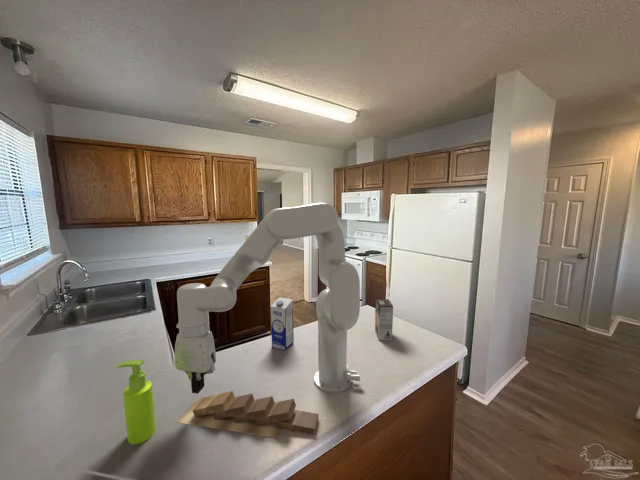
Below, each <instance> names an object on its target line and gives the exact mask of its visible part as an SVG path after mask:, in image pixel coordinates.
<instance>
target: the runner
mask: <svg viewBox="0 0 640 480" xmlns="http://www.w3.org/2000/svg"><path fill="white" fill-rule="evenodd" d="M205 397H206V396H205ZM205 397H204V396H198V397H197V399H195V401H194V402H193V403H192V404H191V405H190V406H189V407H188V408H187V410H185V412H184V413H183V414H182V415H181V416H180V417H179V418H178V420H177V421H176V423H178V424H184V425H190V426H198V427H205V428H209V429H210V428H211V429H219V430H223V431H229V432H238V433H243V434H250V435H251V434H252V435H256V436H264V437H270V438H277V439H279V438H280V435H281V432H282V430H281V429H277V426H278V422H275V423H270V424H265V425H260V426H257V425H256V422H255V420H254V419H252V420H247V421H242V422H237V423H235V421H234V419H233V416H231V417H226V418H221V419H217V420H215V419H214V417H213V414H212V413H211V414H206V415H202V416H197V417H195V416H194V413H193V411H192V410H193V409H194V408H195V407H196V406H197V405H198V404H199V402H200V401H201V400H202V399H203V398H205Z"/></svg>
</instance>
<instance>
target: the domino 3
mask: <svg viewBox="0 0 640 480" xmlns="http://www.w3.org/2000/svg"><path fill="white" fill-rule="evenodd" d="M274 403H276V402H275V400H274V397H273V395H272V396H266V397H261V398H257V399H254V401H253V403H252V405H251V406H250V408H249V410H248V412H247V413H245V414H240V415H235V416H233V419H234V421H235V423H237V422H242V421H247V420H252V419H257V418H262V417H267V416H268V415H269V413H270V411H271V409H272V407H273V405H274Z"/></svg>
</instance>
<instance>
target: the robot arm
mask: <svg viewBox="0 0 640 480" xmlns="http://www.w3.org/2000/svg"><path fill="white" fill-rule="evenodd" d="M338 214H339V213H338V210H337V209H336V207H334V206H333V205H332V204H330V203H327V202H315V203H310V204H306V205H300V206H292V207H280V208H274V209H271V210H270V211H268V212H267V214H266V215H265V216H264V217H263V219H262V220H261V221H260V222H259V223H258V224H257V226H256V228H255V229H254V230H253V231H252V232H251V233H250V234H249V235H248V237H247V239H245V241H244V242H243V244H242V245H241V246H240V247H239V248H238V249H237V250H236V252H235V253H234V254H233V256H232V257H231V258H230V259H229V260H228V262H227V263H226V264H225V265H224V267H222V269H221V270H220V271H219V273H218V274H217V275H216V276H215V278H214V279H213V281H212V282H211V284H210V286H207V285H206V284H205V283H202V282H201V283H199V282H194V283H193V282H192V283H187V284H183V285H181V286H179V287H178V289H177V291H176V302H177V315H178V316H177V317H178V322H177V324H176V328H177V329H178V332H179V333H177V335H176V338H175V339H176V340H175V344H174V367H175V369H176V370H178V371H183V372H185V374H186V375H187V376H188V379H189V380H190V384H191V385H190V386H191V393H192V394H199V393H200V392H201V391H202V390H203V389H204V388H205V375H208V374H209V375H210V374H213V373H214V372H215V371H216V366H215V364H216V361H217V356H216V355H217V352H216V347H215V340H214V336H213V333H212V331H211V330H210V316H209V315H210V312H211V313H212V312H214V313H216V312H217V313H222V312H227V311H229V310H231V309H232V308H234V306H235V305H236V302H237V299H238V298H237V297H238V296H237V290H238V289H239V287H240V286H241V285H242V283H243V282H244V281H245V279H247V278H248V276H249V275H250V274H252V273H253V272H254V271H255V270H258V268H259V269H260V268H262V267H263V266H264V265H266V263H268V261H269V260H270V259H271V257H272V256H273V254H275V252H276V251H277V249H278V248H279V247H280V246H281V244H282V243H283V242H284V241H285V240H294V239H300V238H306V237H307V238H308V237H310V236H315V238H316V242H317V249H318V277H319V280H320V281H321V282H322V284H323V285H325V286H326V287H327V288H325V289H323V290H321V291H320V293H319V294H318V295H317V298H316V305H315V307H316V317H317V327H318V328H317V335H318V338H317V342H318V344H317V345H318V347H317V348H318V349H317V350H318V351H317V352H318V355H317V357H318V362H317V363H318V366H317V367H318V370H317V371H316V372H315V374H314V376H313V383H314V385H315V387H317V389H319V390H321V391H323V392H326V393H331V394H332V393H334V394H335V393H341V392H344V391H346V390H347V389H348V388H350V386H351V384H352V381H355V382H361V374H357V373H358V370H353V369H352V370H351V369H350V368H349V365H348V363H347V362H348V361H347V360H348V357H347V356H348V343H347V342H348V330H351V329H352V328H353V327H354V326H356V324H357V323H358V320H359V317H360V309H361V308H360V307H361V304H360V303H361V301H360V299H361V294H360V293H361V285H360V283H361V281H360V275H359V273H358V270H357V269H356V267H355V266H354V265H353V264H352V263H350V262H349V261H347V260H346V246H345V244H346V243H345V236H344V232H343V230H342V227H341V226H340V224H339V223H338V222H339V215H338Z"/></svg>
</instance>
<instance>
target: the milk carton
mask: <svg viewBox="0 0 640 480" xmlns="http://www.w3.org/2000/svg"><path fill="white" fill-rule="evenodd" d="M270 318H271V320H270V323H271V324H270V325H271V348H273V349H277V350H282V351H284V352H285V351H287V350H288V349H290V348H291V346H293V345H294V344H293V343H295V342H294V334H295V333H294V299H292V298H287V297H281V296H279V297H278V298H277V299H276V300H275V301H274V302H273V303H272V304H271V305H270Z"/></svg>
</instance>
